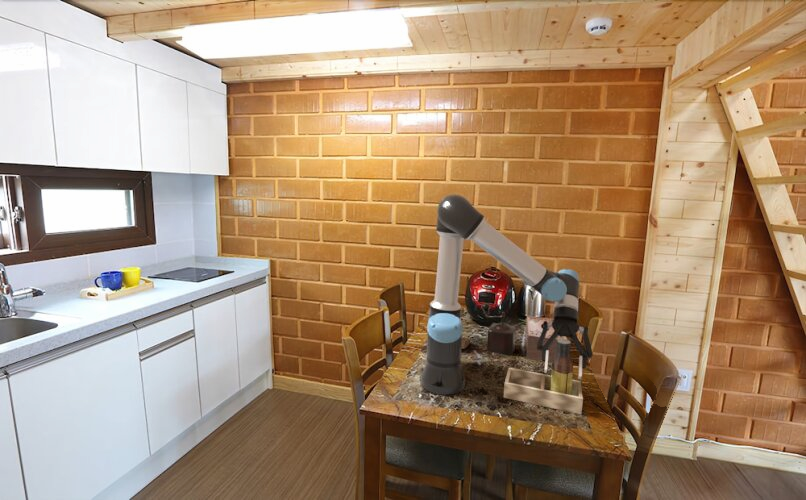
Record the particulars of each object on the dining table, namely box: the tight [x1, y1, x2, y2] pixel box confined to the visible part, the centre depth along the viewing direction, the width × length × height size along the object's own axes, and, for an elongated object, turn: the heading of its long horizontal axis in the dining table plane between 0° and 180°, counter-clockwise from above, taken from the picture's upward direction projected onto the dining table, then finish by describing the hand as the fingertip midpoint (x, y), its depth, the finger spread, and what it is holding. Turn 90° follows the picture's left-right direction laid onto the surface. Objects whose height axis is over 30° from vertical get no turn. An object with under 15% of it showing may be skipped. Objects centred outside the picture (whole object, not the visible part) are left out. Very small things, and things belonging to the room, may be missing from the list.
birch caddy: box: [503, 367, 584, 415], centre depth 123 cm, size 23×12×5 cm, turn 68°
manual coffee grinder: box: [481, 302, 517, 356], centre depth 160 cm, size 16×11×18 cm
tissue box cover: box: [524, 315, 568, 363], centre depth 161 cm, size 26×14×10 cm, turn 163°
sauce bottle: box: [551, 339, 574, 395], centre depth 120 cm, size 7×6×20 cm
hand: (562, 374), depth 117 cm, fingers open, 9 cm apart
